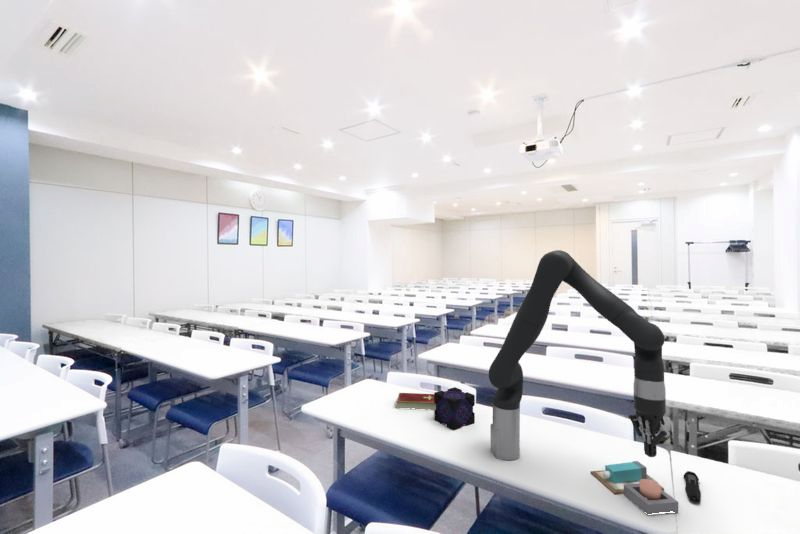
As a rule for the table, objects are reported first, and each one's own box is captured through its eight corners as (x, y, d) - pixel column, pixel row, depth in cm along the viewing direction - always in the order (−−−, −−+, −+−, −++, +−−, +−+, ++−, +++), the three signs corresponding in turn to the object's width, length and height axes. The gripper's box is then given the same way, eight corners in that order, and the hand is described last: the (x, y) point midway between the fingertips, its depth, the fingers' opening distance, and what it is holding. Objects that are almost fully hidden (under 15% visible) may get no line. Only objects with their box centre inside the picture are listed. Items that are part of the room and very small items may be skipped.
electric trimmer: (685, 503, 105) (685, 492, 105) (683, 477, 117) (683, 467, 117) (702, 508, 103) (702, 497, 102) (698, 481, 115) (698, 471, 115)
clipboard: (614, 494, 108) (614, 490, 108) (590, 473, 119) (590, 469, 119) (664, 490, 110) (664, 485, 110) (636, 469, 121) (636, 465, 121)
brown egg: (649, 501, 101) (649, 490, 101) (635, 489, 106) (635, 479, 106) (665, 499, 102) (665, 488, 102) (651, 488, 107) (651, 478, 107)
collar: (648, 515, 99) (648, 504, 99) (623, 494, 108) (623, 484, 108) (678, 512, 100) (678, 501, 100) (651, 492, 109) (651, 482, 109)
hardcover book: (399, 400, 183) (399, 391, 183) (442, 402, 181) (442, 393, 181) (396, 409, 171) (396, 400, 171) (442, 411, 169) (442, 402, 169)
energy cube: (474, 423, 156) (474, 395, 156) (453, 430, 149) (453, 401, 149) (454, 413, 166) (455, 387, 166) (434, 420, 159) (434, 392, 159)
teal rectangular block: (637, 472, 117) (637, 460, 117) (646, 479, 113) (646, 467, 113) (601, 477, 115) (600, 465, 115) (609, 484, 112) (608, 472, 112)
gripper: (681, 401, 99) (682, 466, 99) (642, 386, 112) (643, 443, 112) (656, 403, 98) (657, 469, 98) (620, 387, 111) (621, 445, 111)
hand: (650, 455), depth 105 cm, fingers closed
